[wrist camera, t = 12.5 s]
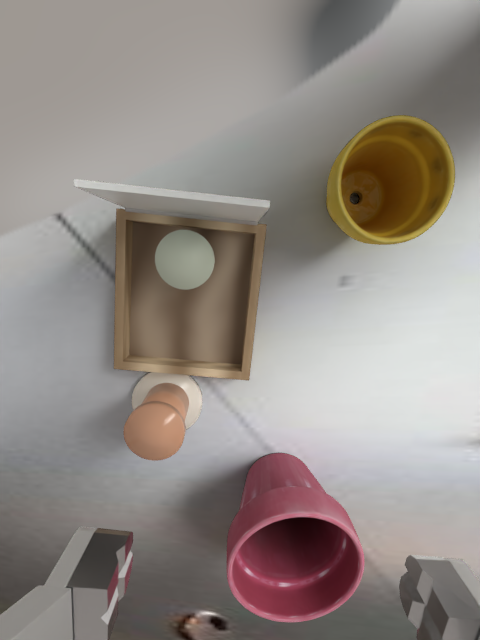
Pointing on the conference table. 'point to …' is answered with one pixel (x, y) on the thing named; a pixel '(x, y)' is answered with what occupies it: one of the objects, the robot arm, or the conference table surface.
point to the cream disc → (181, 380)
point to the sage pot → (184, 259)
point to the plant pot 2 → (391, 181)
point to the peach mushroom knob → (158, 423)
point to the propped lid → (178, 202)
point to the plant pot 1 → (291, 544)
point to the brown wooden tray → (186, 300)
